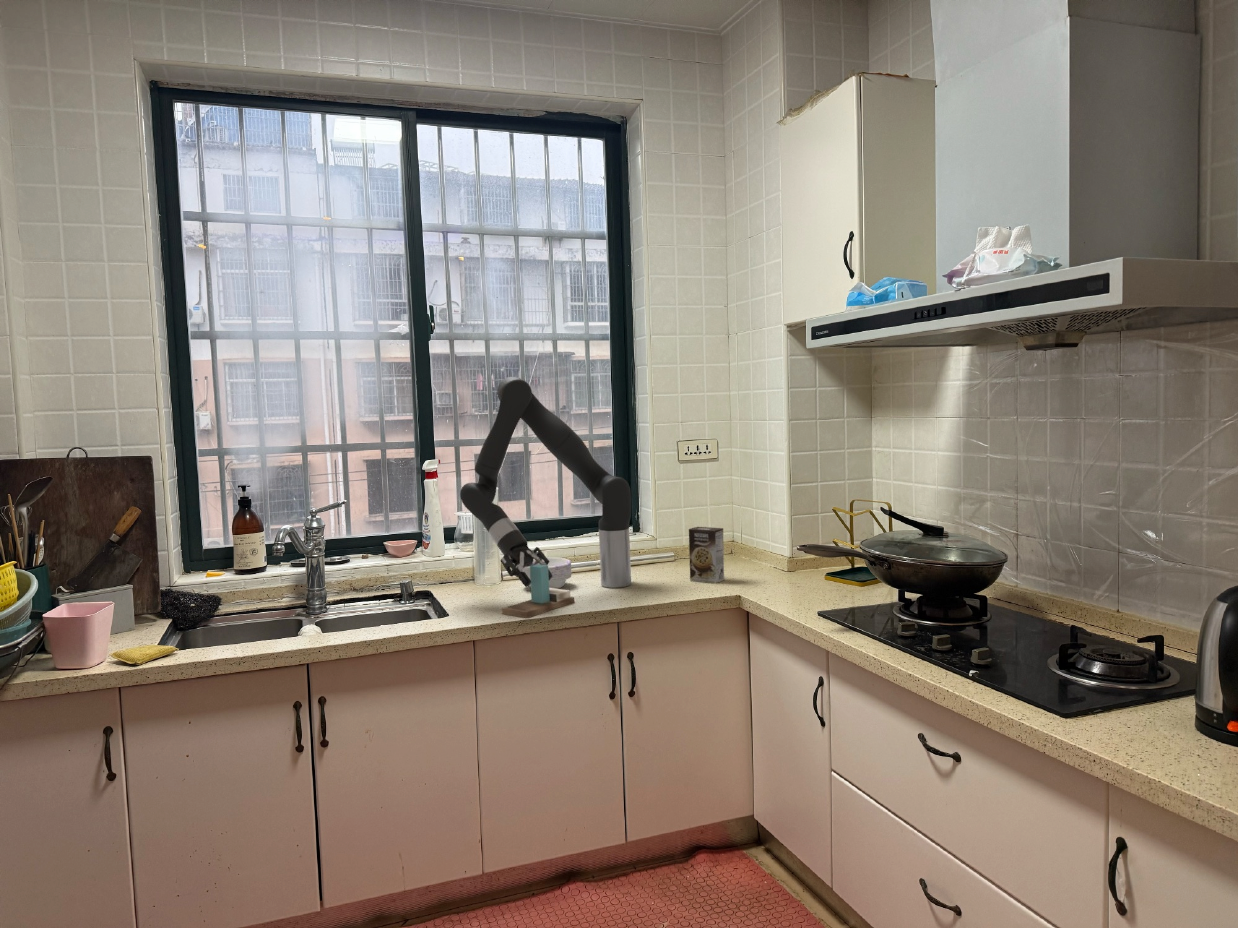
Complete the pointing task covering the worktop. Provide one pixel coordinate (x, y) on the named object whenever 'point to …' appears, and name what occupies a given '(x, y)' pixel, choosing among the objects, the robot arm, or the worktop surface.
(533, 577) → the teal rectangular block
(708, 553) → the coffee box
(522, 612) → the stand
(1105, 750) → the worktop surface
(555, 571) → the white and purple bowl
